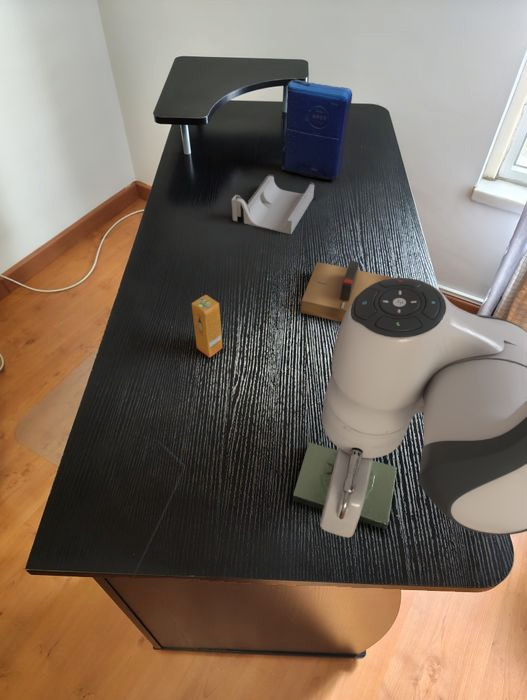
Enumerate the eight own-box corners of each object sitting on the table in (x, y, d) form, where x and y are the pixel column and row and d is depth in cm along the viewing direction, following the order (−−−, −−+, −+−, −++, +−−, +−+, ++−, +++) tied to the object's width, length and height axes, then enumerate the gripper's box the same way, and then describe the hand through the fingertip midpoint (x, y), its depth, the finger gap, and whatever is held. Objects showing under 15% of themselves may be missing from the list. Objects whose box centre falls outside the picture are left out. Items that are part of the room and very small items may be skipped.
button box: (394, 472, 64) (400, 460, 62) (385, 529, 59) (391, 518, 57) (308, 448, 67) (309, 435, 64) (292, 500, 62) (293, 489, 59)
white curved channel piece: (291, 234, 99) (292, 213, 95) (232, 220, 102) (231, 199, 98) (313, 197, 108) (315, 176, 104) (259, 186, 111) (259, 165, 107)
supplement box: (224, 347, 79) (220, 303, 71) (209, 358, 77) (203, 315, 70) (211, 336, 80) (205, 292, 73) (195, 348, 79) (188, 304, 71)
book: (279, 173, 115) (281, 84, 100) (286, 163, 118) (290, 75, 103) (336, 185, 111) (348, 94, 96) (342, 174, 115) (355, 85, 99)
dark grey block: (347, 275, 86) (350, 259, 83) (356, 277, 86) (359, 261, 83) (339, 299, 82) (342, 282, 79) (348, 301, 82) (352, 284, 79)
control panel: (389, 289, 88) (392, 276, 86) (379, 330, 81) (383, 317, 79) (315, 274, 91) (317, 260, 88) (300, 312, 84) (301, 299, 82)
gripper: (380, 515, 42) (356, 563, 53) (408, 350, 55) (384, 415, 66) (311, 494, 44) (301, 545, 54) (354, 337, 56) (339, 403, 67)
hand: (347, 473), depth 60 cm, fingers closed, pressing on start button
